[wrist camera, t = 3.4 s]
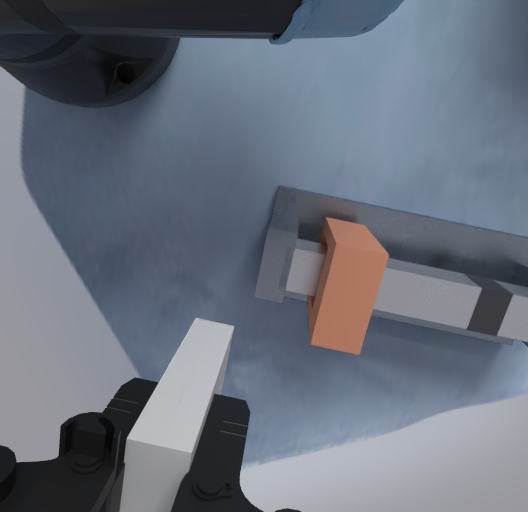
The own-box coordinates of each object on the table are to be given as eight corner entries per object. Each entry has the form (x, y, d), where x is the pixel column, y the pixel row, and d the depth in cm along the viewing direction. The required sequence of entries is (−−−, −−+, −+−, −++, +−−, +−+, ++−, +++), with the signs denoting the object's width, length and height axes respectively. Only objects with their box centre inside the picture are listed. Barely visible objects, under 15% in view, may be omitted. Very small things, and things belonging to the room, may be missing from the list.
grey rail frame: (257, 286, 36) (248, 323, 28) (279, 185, 33) (274, 197, 26) (505, 339, 35) (560, 391, 28) (546, 241, 33) (617, 269, 25)
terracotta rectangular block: (306, 294, 33) (310, 344, 24) (325, 217, 31) (336, 243, 23) (343, 302, 32) (359, 355, 24) (364, 225, 31) (389, 254, 23)
